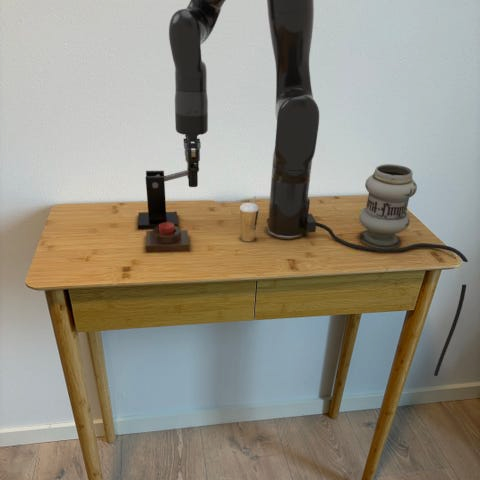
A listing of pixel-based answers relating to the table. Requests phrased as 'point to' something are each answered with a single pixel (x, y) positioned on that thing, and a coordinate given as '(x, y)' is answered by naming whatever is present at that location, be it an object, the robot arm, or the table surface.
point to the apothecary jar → (387, 205)
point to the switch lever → (175, 175)
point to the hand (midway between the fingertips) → (192, 182)
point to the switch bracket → (155, 203)
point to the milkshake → (248, 220)
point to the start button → (166, 228)
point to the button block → (167, 241)
